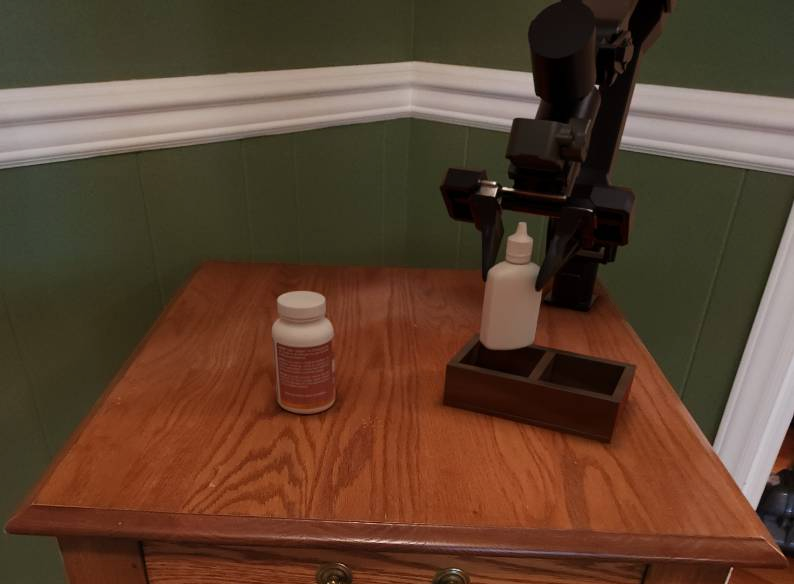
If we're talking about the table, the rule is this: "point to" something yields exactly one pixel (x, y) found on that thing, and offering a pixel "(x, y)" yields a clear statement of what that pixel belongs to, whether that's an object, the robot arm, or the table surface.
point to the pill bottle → (303, 353)
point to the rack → (541, 387)
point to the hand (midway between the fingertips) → (510, 285)
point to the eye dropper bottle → (511, 297)
